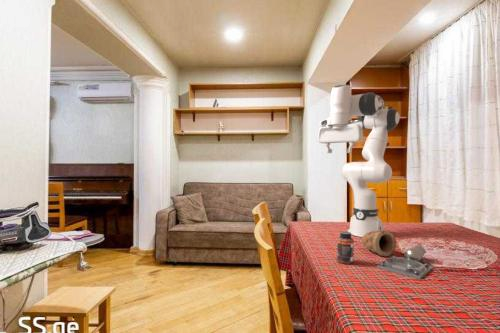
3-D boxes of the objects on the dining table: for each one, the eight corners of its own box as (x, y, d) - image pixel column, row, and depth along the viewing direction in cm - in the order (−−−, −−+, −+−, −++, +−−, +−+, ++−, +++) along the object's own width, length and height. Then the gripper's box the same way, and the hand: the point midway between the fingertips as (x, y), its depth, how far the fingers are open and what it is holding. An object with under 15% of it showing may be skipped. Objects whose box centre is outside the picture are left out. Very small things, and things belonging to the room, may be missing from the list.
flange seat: (400, 254, 122) (400, 242, 122) (439, 262, 112) (439, 249, 112) (377, 267, 106) (377, 254, 106) (420, 279, 96) (420, 264, 96)
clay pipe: (356, 260, 124) (390, 258, 113) (349, 235, 126) (382, 231, 115) (375, 251, 137) (408, 248, 126) (368, 228, 139) (400, 223, 128)
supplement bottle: (356, 264, 109) (357, 234, 109) (342, 265, 108) (342, 234, 108) (348, 258, 115) (348, 230, 115) (334, 259, 114) (334, 231, 114)
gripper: (366, 120, 122) (365, 153, 122) (323, 124, 137) (322, 153, 137) (359, 118, 118) (358, 152, 118) (316, 122, 133) (315, 152, 133)
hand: (339, 152), depth 128 cm, fingers open, 8 cm apart
